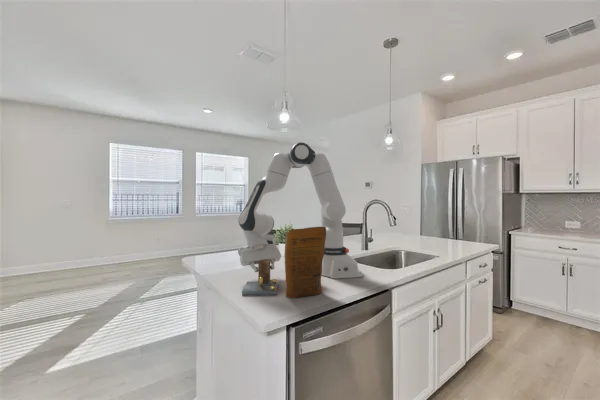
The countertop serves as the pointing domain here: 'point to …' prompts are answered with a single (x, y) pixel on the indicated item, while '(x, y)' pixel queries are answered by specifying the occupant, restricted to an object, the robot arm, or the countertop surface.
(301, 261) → the pancake mix bag
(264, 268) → the brown wooden block
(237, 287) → the countertop surface
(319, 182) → the robot arm
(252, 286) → the pin plate
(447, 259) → the countertop surface
